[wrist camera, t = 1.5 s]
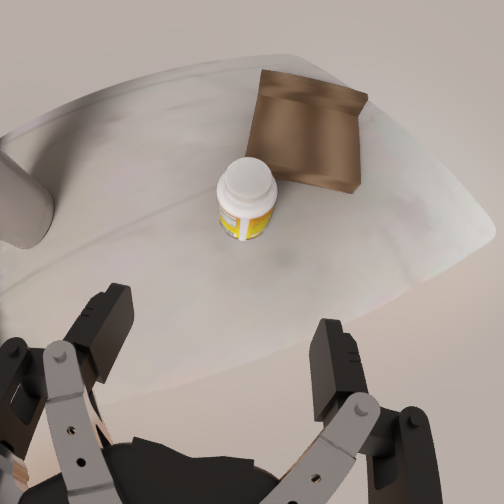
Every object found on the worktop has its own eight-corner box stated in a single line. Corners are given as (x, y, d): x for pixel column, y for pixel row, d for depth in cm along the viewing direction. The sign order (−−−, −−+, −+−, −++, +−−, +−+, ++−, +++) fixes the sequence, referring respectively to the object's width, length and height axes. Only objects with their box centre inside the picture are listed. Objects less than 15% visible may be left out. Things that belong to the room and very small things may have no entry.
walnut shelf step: (243, 172, 35) (246, 139, 28) (257, 104, 38) (261, 69, 31) (351, 193, 35) (374, 167, 28) (350, 124, 38) (367, 94, 31)
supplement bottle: (271, 201, 34) (286, 155, 24) (264, 246, 33) (277, 213, 23) (224, 193, 34) (222, 144, 24) (215, 237, 33) (208, 200, 23)
